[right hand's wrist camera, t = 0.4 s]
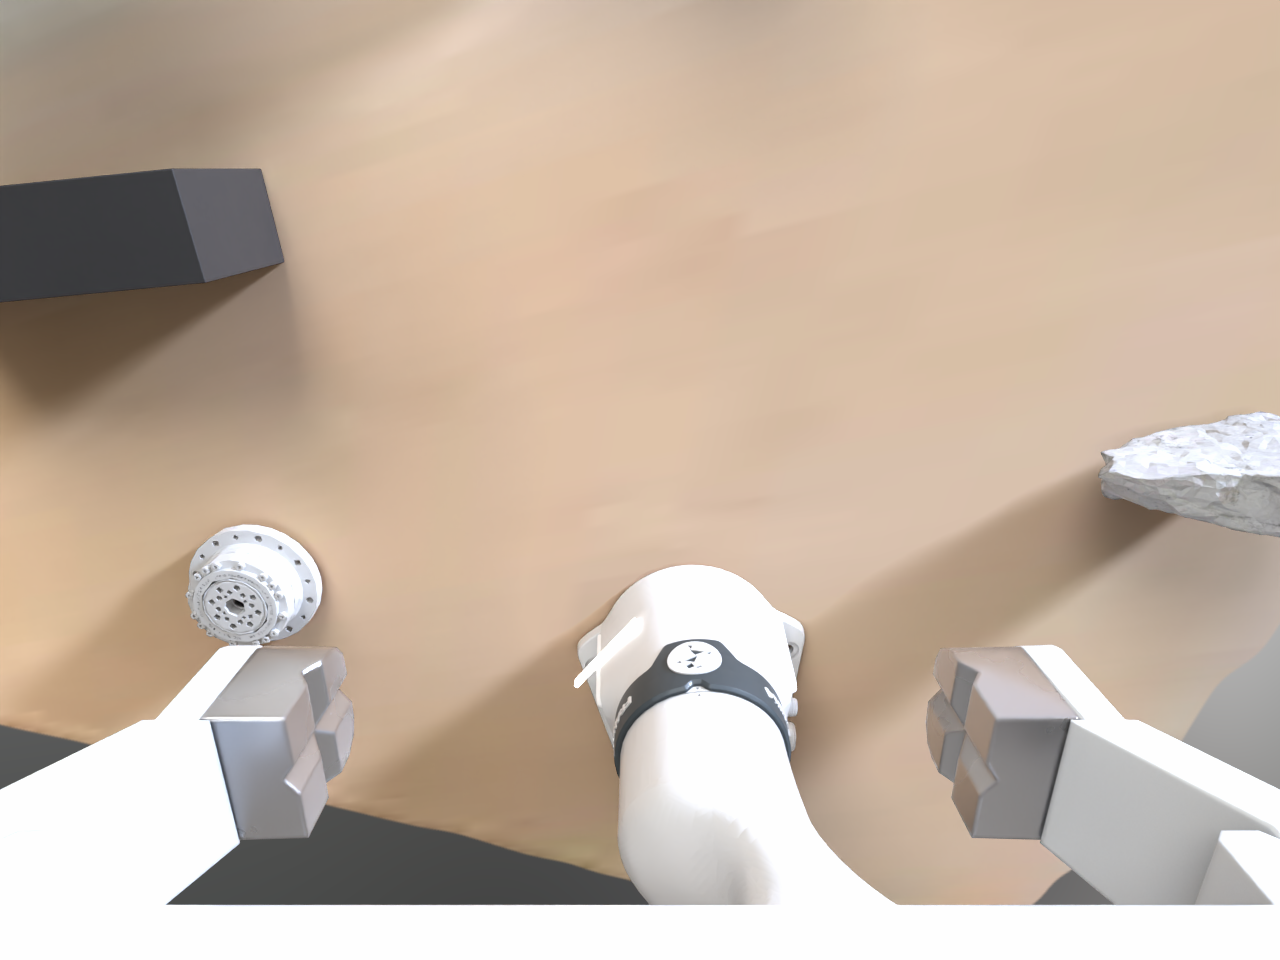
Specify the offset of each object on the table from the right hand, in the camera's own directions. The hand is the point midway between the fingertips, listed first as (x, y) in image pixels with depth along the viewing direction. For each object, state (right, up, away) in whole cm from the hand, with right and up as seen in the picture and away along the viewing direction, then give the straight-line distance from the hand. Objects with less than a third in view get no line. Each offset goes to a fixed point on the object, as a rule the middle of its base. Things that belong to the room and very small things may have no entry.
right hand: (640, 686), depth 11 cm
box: (-37, +20, +42) cm, 59 cm away
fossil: (+39, +6, +48) cm, 62 cm away
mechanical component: (-30, -5, +52) cm, 60 cm away
